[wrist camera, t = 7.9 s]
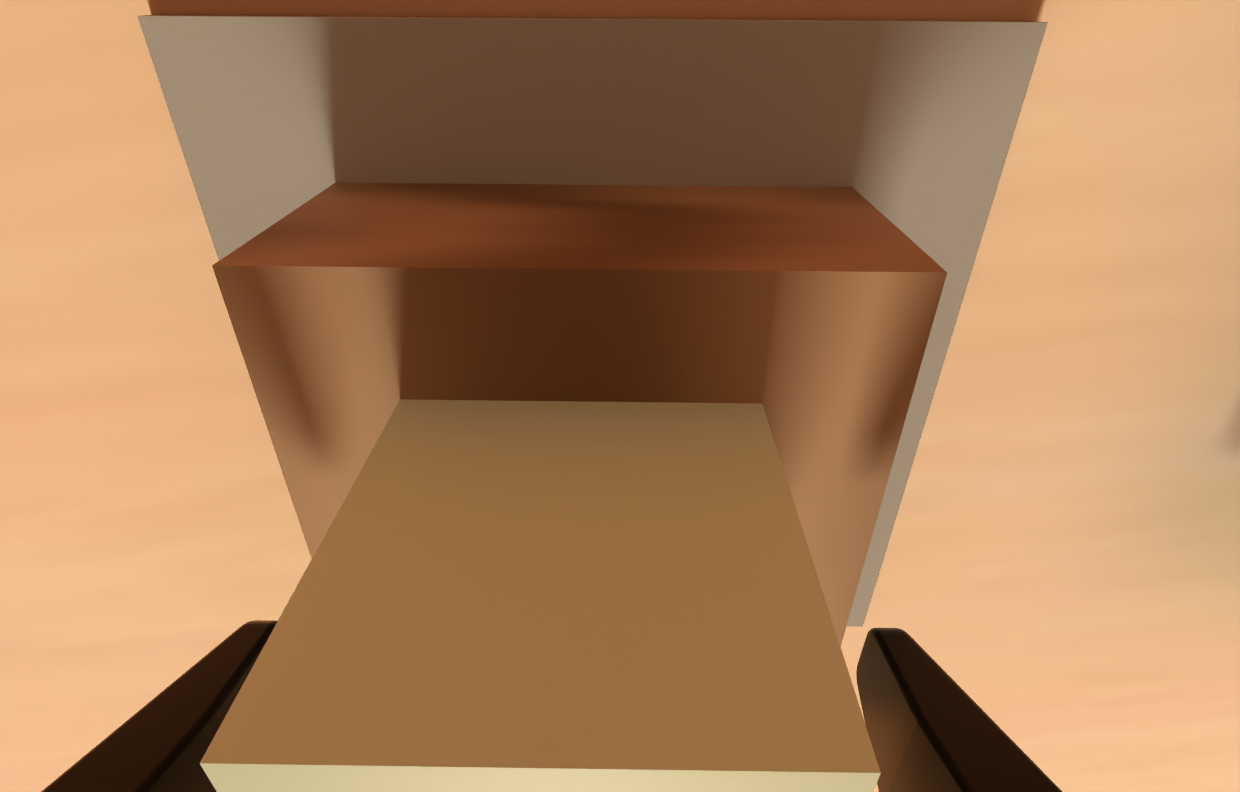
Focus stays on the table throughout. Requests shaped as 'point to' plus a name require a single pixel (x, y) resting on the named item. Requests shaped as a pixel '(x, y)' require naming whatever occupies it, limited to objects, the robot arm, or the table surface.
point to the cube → (555, 617)
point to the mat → (610, 123)
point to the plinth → (592, 325)
